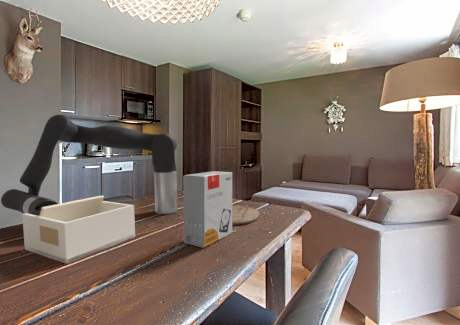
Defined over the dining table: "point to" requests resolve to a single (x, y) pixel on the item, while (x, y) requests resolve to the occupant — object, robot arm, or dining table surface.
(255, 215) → the trivet
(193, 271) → the dining table surface
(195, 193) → the hard drive box
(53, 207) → the flap
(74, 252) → the carton
